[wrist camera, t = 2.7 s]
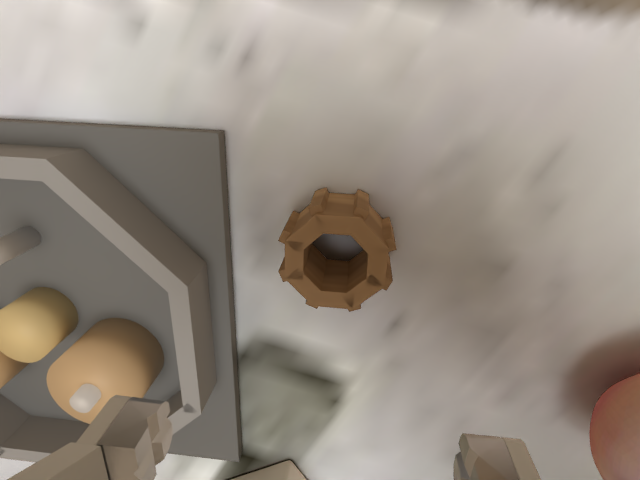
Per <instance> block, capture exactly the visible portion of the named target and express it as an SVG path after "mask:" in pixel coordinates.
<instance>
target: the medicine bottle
mask: <svg viewBox="0 0 640 480" xmlns="http://www.w3.org/2000/svg"><path fill="white" fill-rule="evenodd" d="M230 480H306V479H305V477H304V476H303V475H302V474H301V472H300V471H299V470H298V469H297V467H296V466H295V465H294V464H293V462H292V461H290V460H288V461H285V462H282V463H279V464H276V465H273V466H270V467H267V468H264V469H261V470H258V471H255V472H252V473H249V474H246V475H243V476H240V477H237V478H234V479H230Z"/></svg>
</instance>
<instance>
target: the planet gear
mask: <svg viewBox="0 0 640 480" xmlns="http://www.w3.org/2000/svg"><path fill="white" fill-rule="evenodd" d="M323 233H325V234H338V235H351V236H352V237H353V238H354V239H355V241H356V242H357V243H358V244H359V245H360V246H361V247H362V248H363V249H364V250H363V251H362V252H360V253H359V254H358V255H356V256H355V257H354V258H352V259H351V260H350V261H342V260H330V259H326V258H325V257H324V256H323V255H322V254H321V253H320V251H319V250H318V249H317V248H316V247H315V246H314V245H313V244H312V242H313V241H315V240H316V239H317V238H318V237H320V236H321V235H322V234H323ZM278 241H280V242H282V243H284V244H285V257H284V260H283V262H282V264H281V267H280V269H279V274H280V276H281V278H282V280H283V282H285V281H288V282H289V283H290V284H291V285H292V286H293V287H294V288H295V289H296V290H297V291H298V292H299V293H300V294H301V295H302V296H303V297H304V298H305V299H306V300H307V301H306V304H307V305H309V306H312V307H314V308H316V309H317V308H318V306H321V307H332V308H344V309H348V310H349V312H350V311H354V310H358V309H361V303H362V302H364V301H365V300H367V299H368V298H369V297H371V296H372V295H374V294H375V293H376V292H378V291H379V290H381V289H384V290H387V289H388V287H389V286H390V284H391V282H392V281H393V280H392V272H391V265H390V257H389V255H388V252H390V251H393V250H396V244H395V239H394V233H393V228H392V225H391V221H390V218H389V217H388V218H385V219H382V218H381V217H380V215H379V214H378V213H377V212H376V211H375V210H374V209H373V208H372V207H371V205H370V204H369V194H367V193H365V192H363V191H360V190H357V192H356V194H340V193H328V190H327V188H323V189H320V190H317V191H315V193H314V195H313V198H312V200H311V203H310V205H308V206H307V207H306V208H305V209H304V210H303V211H302V212H300V213H297V212H295V211H293V212H292V214H291V216H290V218H289V220H288V222H287V224H286V225H285V227H284V229H283V231H282V234H281V236H280V238H279V240H278Z"/></svg>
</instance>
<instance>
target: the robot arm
mask: <svg viewBox="0 0 640 480" xmlns="http://www.w3.org/2000/svg"><path fill="white" fill-rule="evenodd" d="M169 413H170V407H169V402H166V401H160V400H153V399H145V398H138V397H129V396H121V395H115V396H113V397H112V398H110V399H109V400H108V402H107V403H106V404H105V406H104V407H103V408H102V409H101V411H100V412H99V413H98V415H97V416H96V417H95V419H94V420H93V421H92V422H91V424H90V425H89V426H88V428H87V429H86V430H85V432H84V433H83V434H82V435H81V437H80V438H79V439H78V441H77V442H76V443H72V442H70V443H69V444H67V445H65V446H63V447H62V448H60V449H58V450H57V451H55V452H53V453H52V454H50V455H48V456H46V457H45V458H43V459H41V460H40V461H38V462H36V463H35V464H33V465H31V466H29V467H28V468H26V469H24V470H23V471H21V472H19V473H18V474H16V475H14V476H12V477H11V478H9V479H7V480H154V478H155V476H156V468H155V465H157V464H158V463H159V462H161V461H162V460H164V458H165V456H166V454H167V452H168V450H169V447H170V444H171V440H172V433H173V427H172V423H171V421H170V420H169V419H168V418H167V416H168V414H169ZM459 446H460V450H461V452H459V453H458V454H457V455H456V456H455V461H454V480H541V479H540V476H539V474H538V472H537V470H536V468H535V465H534V463H533V461H532V459H531V456H530V454H529V452H528V450H527V447H526V445H525V443H524V442H523V441H522V440H521V439H513V438H504V437H501V438H500V437H496V436H485V435H475V434H465V433H463V434H462V435H461V437H460V440H459Z"/></svg>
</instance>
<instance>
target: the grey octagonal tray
mask: <svg viewBox="0 0 640 480" xmlns="http://www.w3.org/2000/svg"><path fill="white" fill-rule="evenodd" d="M115 395H121V396H129V397H138V398H145V399H153V400H160V401H166V402H169V407H170V413H169V414H168V416H167V418H168V419H169V420H170V421H171V423H172V427H173V433H172V440H171V444H170V447H169V450H168V452H167V453H169V454H178V455H186V456H194V457H202V458H211V459H219V460H227V461H235V462H239V460H240V457H241V454H242V436H241V419H240V401H239V383H238V366H237V348H236V330H235V313H234V295H233V277H232V260H231V242H230V225H229V207H228V189H227V172H226V154H225V136H224V131H222V130H203V129H184V128H165V127H146V126H127V125H109V124H90V123H71V122H52V121H33V120H14V119H0V458H5V459H13V460H21V461H29V462H38V461H40V460H41V459H43V458H45V457H46V456H48V455H50V454H52V453H53V452H55V451H57V450H58V449H60V448H62V447H63V446H65V445H67V444H69V443H70V442H72V443H76V442H77V441H78V439H79V438H80V437H81V435H82V434H83V433H84V432H85V430H86V429H87V428H88V426H89V425H90V424H91V422H92V421H93V420H94V419H95V417H96V416H97V415H98V413H99V412H100V411H101V409H102V408H103V407H104V406H105V404H106V403H107V402H108V400H109V399H110V398H112V397H113V396H115Z"/></svg>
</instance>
